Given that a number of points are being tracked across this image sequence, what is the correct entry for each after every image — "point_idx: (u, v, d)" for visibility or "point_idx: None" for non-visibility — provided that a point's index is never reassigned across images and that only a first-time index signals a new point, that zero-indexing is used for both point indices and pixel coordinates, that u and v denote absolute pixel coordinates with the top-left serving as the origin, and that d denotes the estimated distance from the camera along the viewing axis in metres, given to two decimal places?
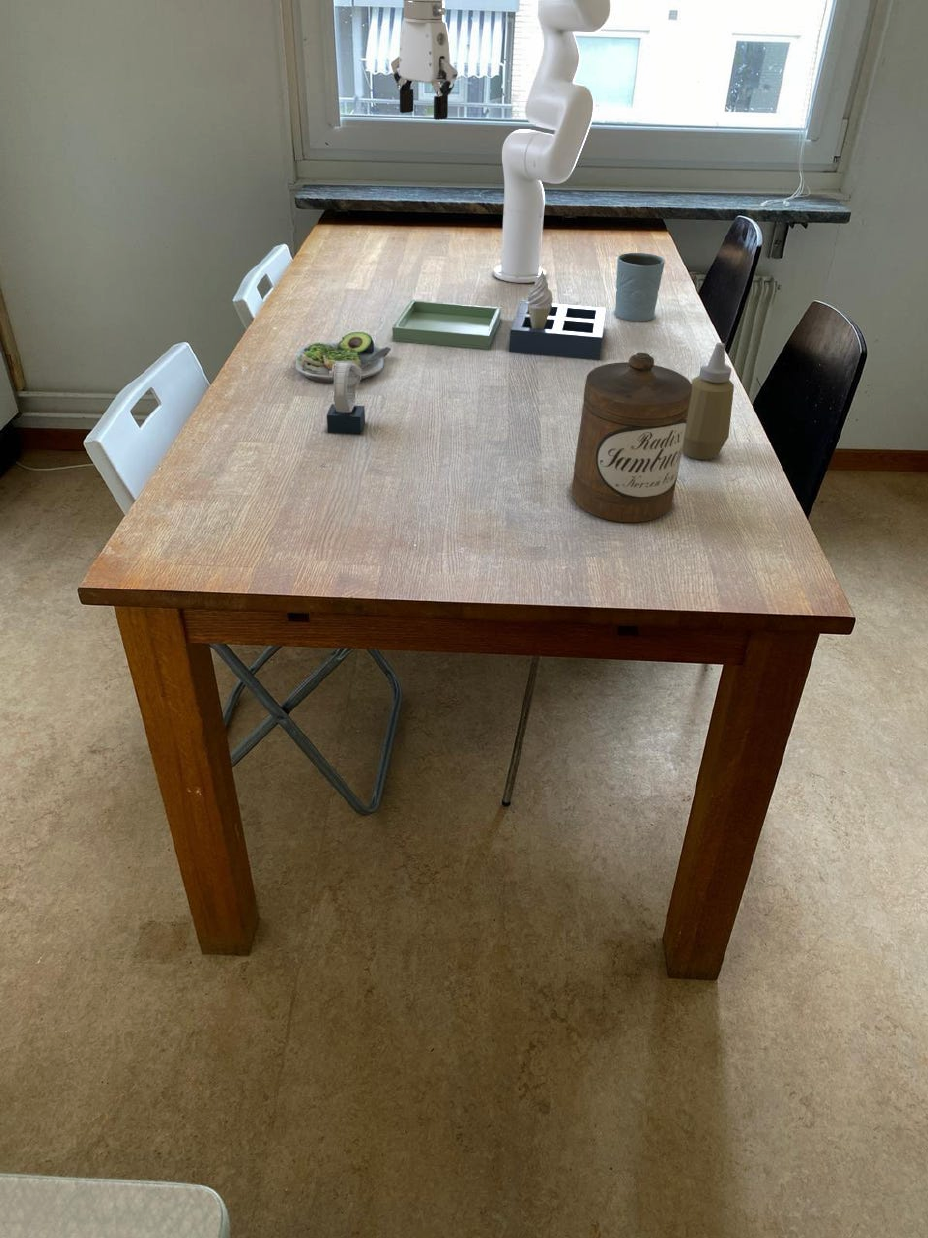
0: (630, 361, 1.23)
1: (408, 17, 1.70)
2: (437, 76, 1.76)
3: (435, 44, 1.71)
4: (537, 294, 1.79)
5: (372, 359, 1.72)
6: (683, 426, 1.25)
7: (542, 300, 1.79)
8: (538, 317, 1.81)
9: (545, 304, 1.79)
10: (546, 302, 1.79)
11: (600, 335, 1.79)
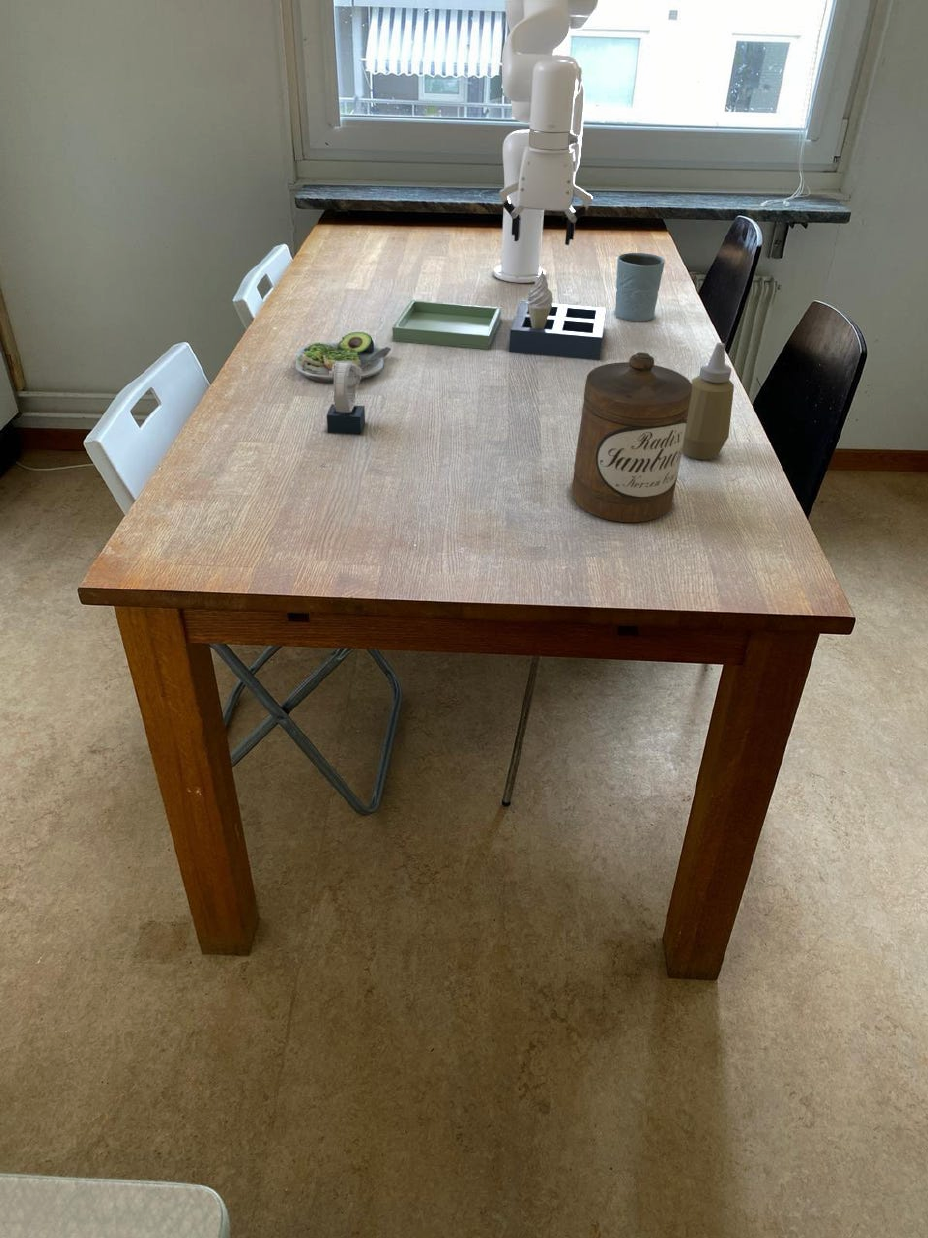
0: (630, 361, 1.23)
1: (546, 148, 1.62)
2: None
3: (572, 172, 1.65)
4: (537, 294, 1.79)
5: (372, 359, 1.72)
6: (683, 426, 1.25)
7: (542, 300, 1.79)
8: (538, 317, 1.81)
9: (545, 304, 1.79)
10: (546, 302, 1.79)
11: (600, 335, 1.79)
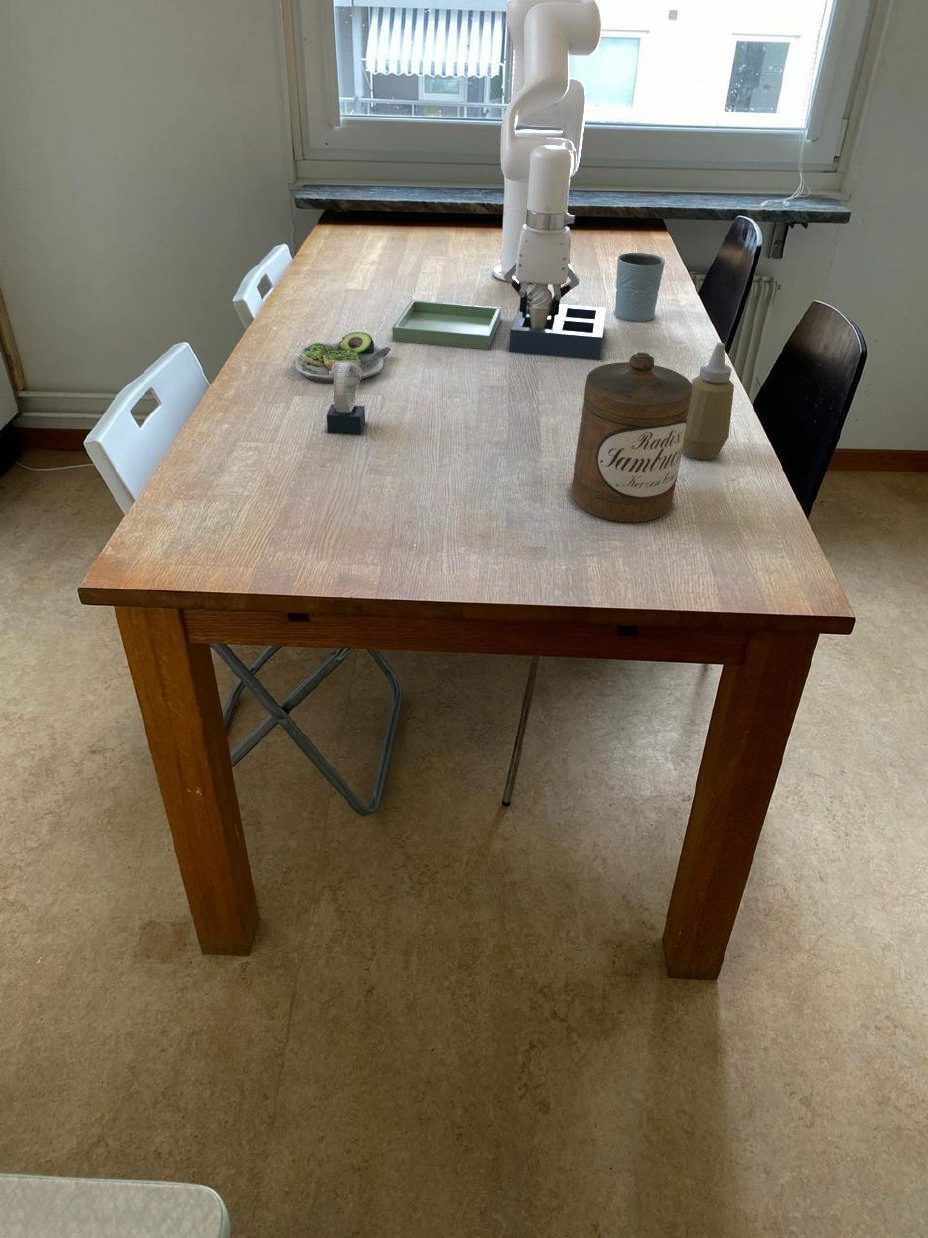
0: (630, 361, 1.23)
1: (543, 229, 1.69)
2: None
3: (568, 250, 1.73)
4: (537, 294, 1.79)
5: (372, 359, 1.72)
6: (683, 426, 1.25)
7: (542, 300, 1.79)
8: (538, 317, 1.81)
9: (545, 304, 1.79)
10: (546, 302, 1.79)
11: (600, 335, 1.79)
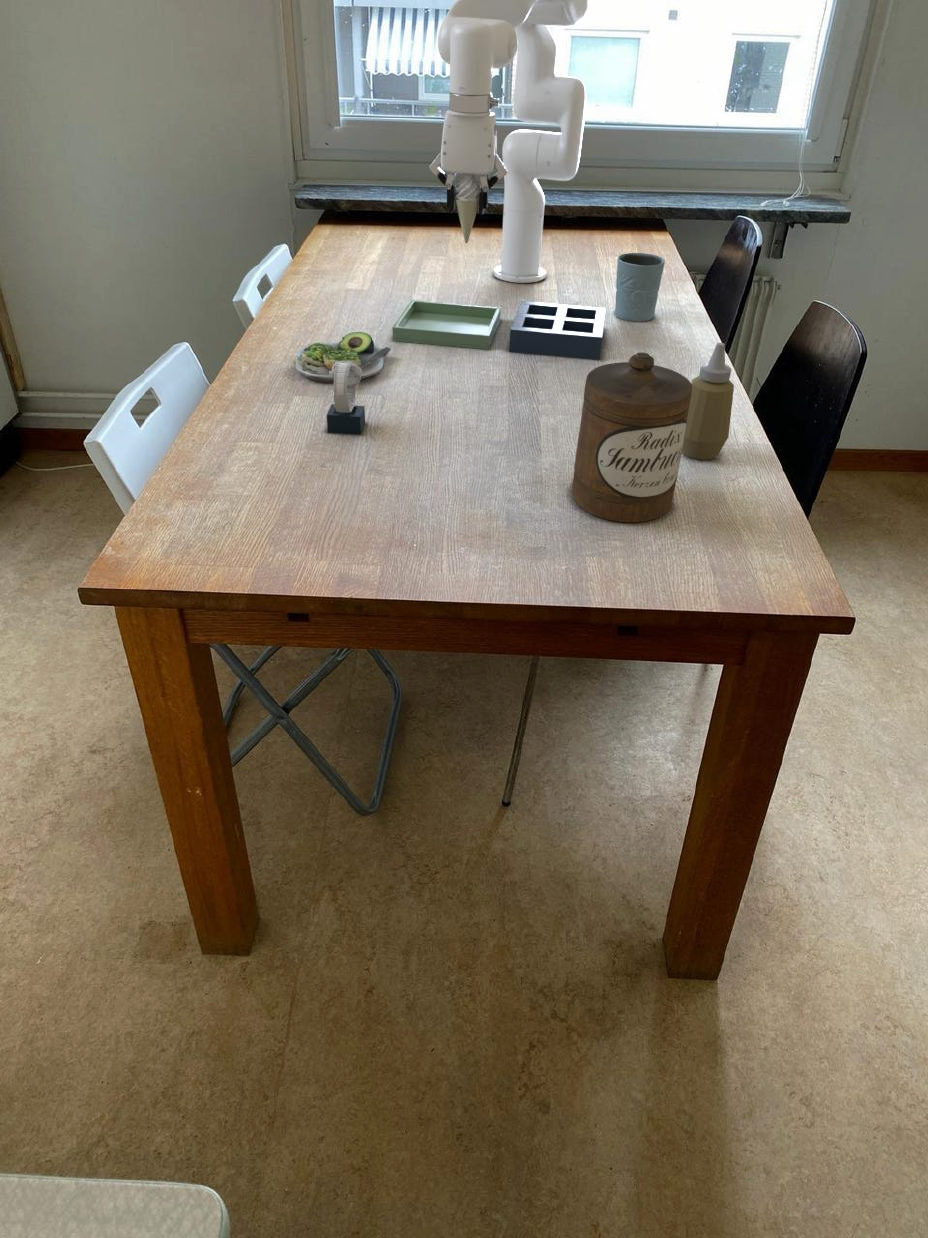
0: (630, 361, 1.23)
1: (465, 112, 1.63)
2: None
3: (493, 136, 1.67)
4: (464, 185, 1.72)
5: (372, 359, 1.72)
6: (683, 426, 1.25)
7: (469, 192, 1.72)
8: (466, 211, 1.75)
9: (472, 196, 1.73)
10: (473, 194, 1.73)
11: (600, 335, 1.79)
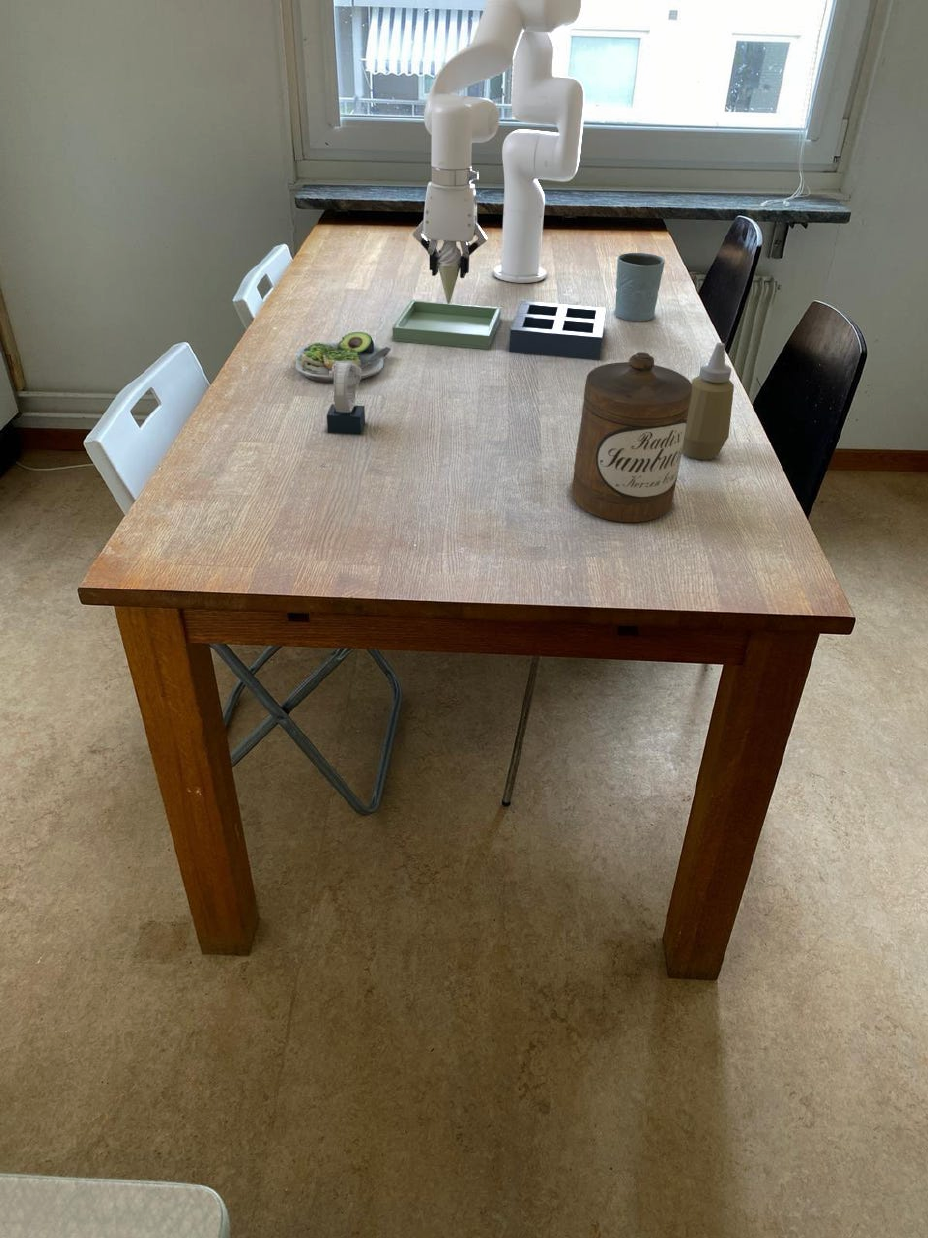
0: (630, 361, 1.23)
1: (446, 185, 1.71)
2: None
3: (473, 206, 1.75)
4: (445, 251, 1.81)
5: (372, 359, 1.72)
6: (683, 426, 1.25)
7: (450, 257, 1.81)
8: (447, 275, 1.83)
9: (454, 261, 1.81)
10: (455, 260, 1.81)
11: (600, 335, 1.79)
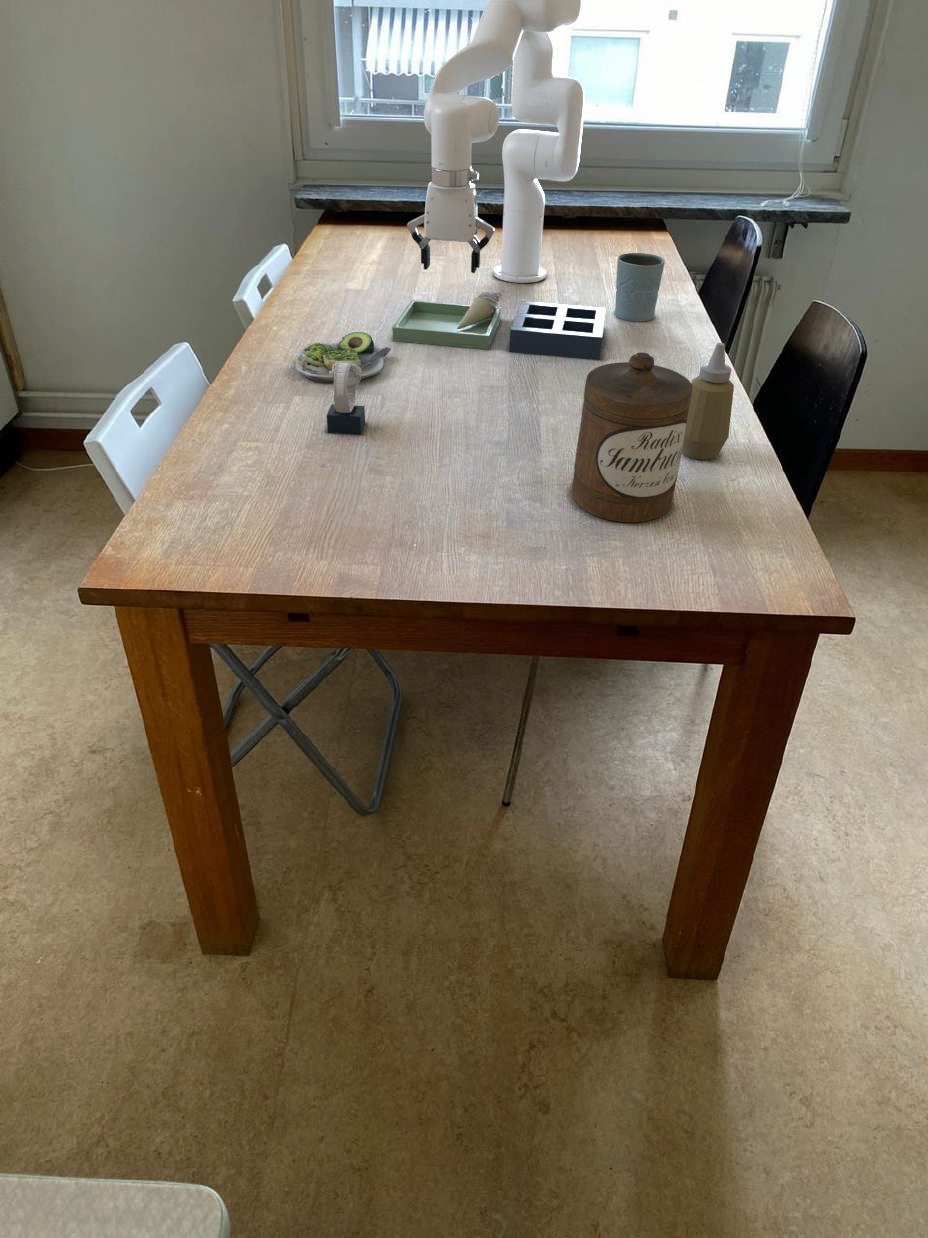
0: (630, 361, 1.23)
1: (446, 185, 1.72)
2: None
3: (473, 207, 1.75)
4: (495, 304, 1.93)
5: (372, 359, 1.72)
6: (683, 426, 1.25)
7: None
8: (483, 318, 1.92)
9: None
10: None
11: (600, 335, 1.79)
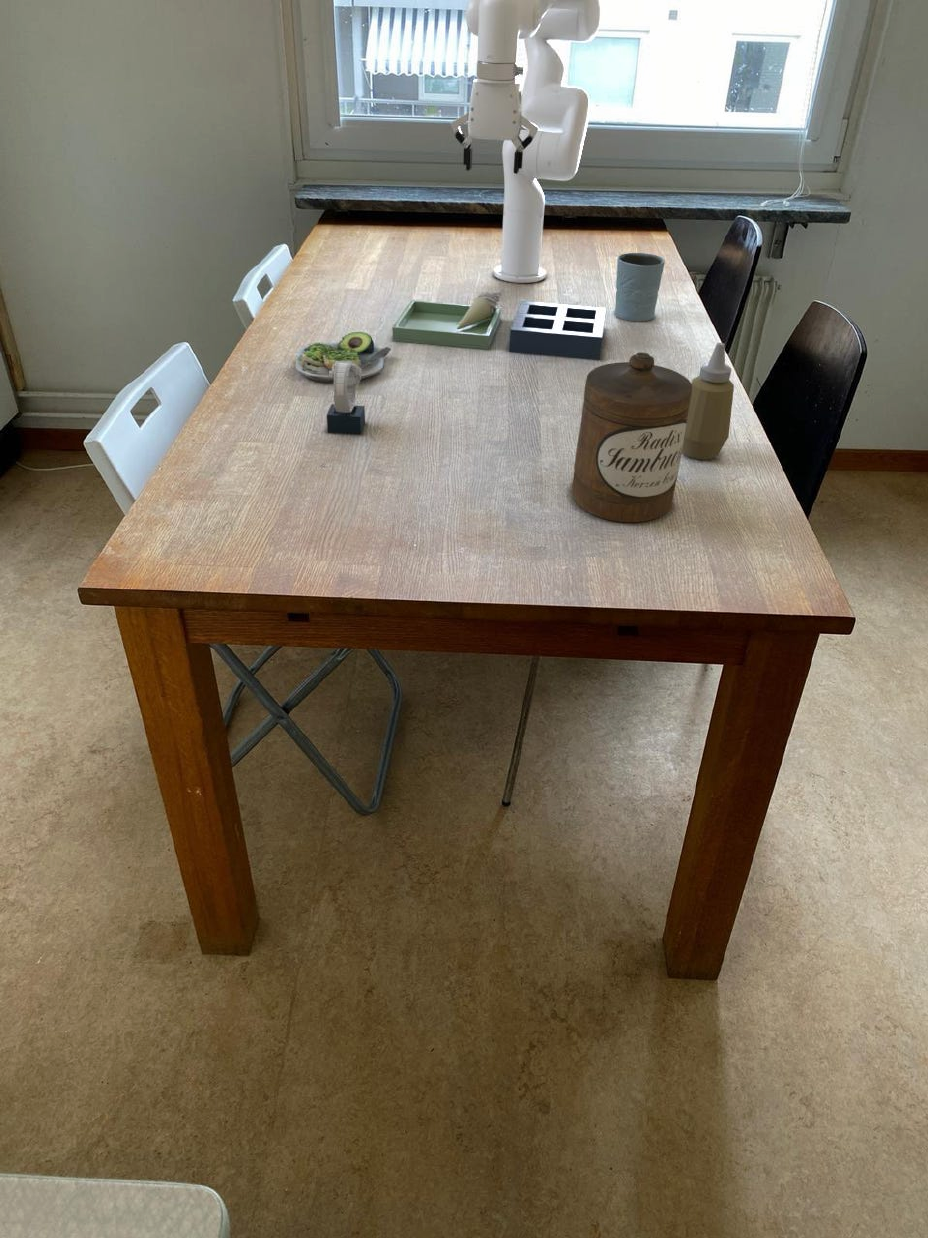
0: (630, 361, 1.23)
1: (492, 79, 1.72)
2: None
3: (518, 103, 1.76)
4: (496, 304, 1.93)
5: (372, 359, 1.72)
6: (683, 426, 1.25)
7: (493, 311, 1.93)
8: (483, 318, 1.92)
9: None
10: None
11: (600, 335, 1.79)
